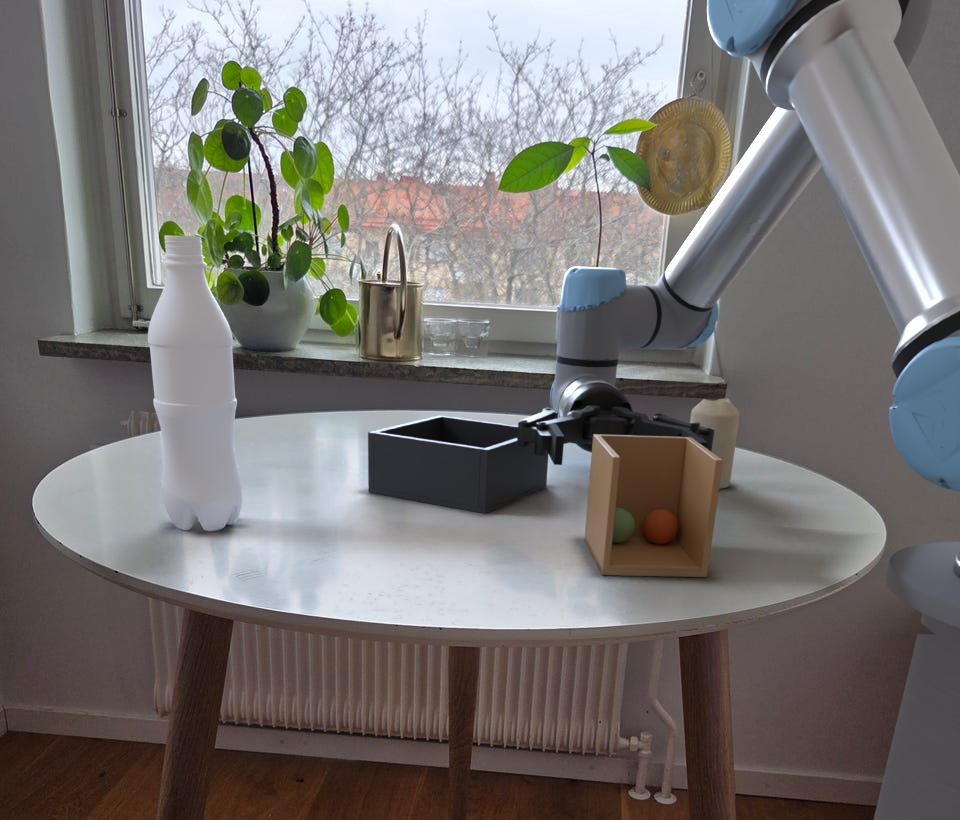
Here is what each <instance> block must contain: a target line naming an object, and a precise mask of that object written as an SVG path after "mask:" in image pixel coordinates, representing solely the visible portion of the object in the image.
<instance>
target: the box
mask: <svg viewBox="0 0 960 820" xmlns="http://www.w3.org/2000/svg"><path fill="white" fill-rule="evenodd" d="M590 456H591V457H590V466H589V467H590V468H589V469H590V470H589V480H588V491H587V504H586V514H585V515H586V517H585V527H584V538H583V539H584V541H583V542H584V543H585V545H586V547H587V549H588V551H589V553H590V554H591V556H592V558H593V560H594V562H595V564H596V566H597V568H598V570H599V571H600V573H601V575H602V576H623V577H625V576H626V577H627V576H630V577H632V576H633V577H634V576H635V577H670V578H671V577H675V578H677V577H678V578H679V577H680V578H708V572H709V565H710V556H711V551H712V550H711V549H712V543H713V535H714V528H715V522H716V515H717V514H716V513H717V507H718V501H719V500H718V499H719V494H720V493H719V492H720V488H719V486H720V479H721V472H722V465H723V460H722V459H720V458H719V457H718V456H716V455H715V454H714V453H712V452H711V451H710V450H708V449H707V448H705V447H704V446H703V445H701V444H700V443H699V442H697V441H696V440H694V439H693V438H692V437H668V436H635V435H602V434H601V435H599V434H594V435H593V444H592V452H591V455H590ZM615 508H622V509H625V510H626V511H628V512H629V513H630V514H631V515H632V517H633V519H634V522H635V529H634V532H633V534H632V536H631V537H630V538H629V539H628V540H626V541H625V542H622V543H612V538H613V528H614V518H615ZM657 509H665V510H668V511H670V512H671V513H673V514H674V516H675V517H676V519H677V521H678V531H677V534H676V536H675V537H674V538H673V539H672V540H671V541H670V542H668V543H665V544H655V543H652V542H651V541H649V540H648V539H647V538H646V537H645V535H644V532H643V522H644V519H645V518H646V516H647V515H648V514H649V513H650V512H652V511H654V510H657Z"/></svg>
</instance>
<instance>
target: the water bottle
mask: <svg viewBox="0 0 960 820" xmlns="http://www.w3.org/2000/svg"><path fill="white" fill-rule="evenodd" d="M163 239H164V249H165V254H164V255H163V257H164V258H165V260H163V263H162V266H165V267H166V269H165V271H166V275H165V282H164V286H163V289H162V292H161V294H160V296H159V299H158V301H157V303H156V305H155V308H154V309H153V313H152V315H151V318H150V321H149V325H148V331H147V343H148V345H149V352H150V362H151V375H152V385H153V395H154V398H153V400H152V402H153V408H154V410H155V413H156V416H157V421H158V423H159V427H160V431H161V439H162V449H163V451H162V452H163V464H162V474H161V482H160V487H161V497H162V502H163V505H164V508H165V511H166V514H167V515H168V517H169V519H170V520H171V522H172V523H173V525H174V526H175V527H176V528H177V529H180V530H182V531H189V530H191V529H192V528H193V526H194V525H195V524H196V522H197V521H198V522H199V523H200V525H201V527H202V529H203V530H204V531H205V532H216V531H220V530H223V529H224V528H225V527H226V525H227V526H232V525H234V524H236V523H237V521H238V519H239V517H240V514H241V510H242V506H243V480H242V476H241V473H240V469H239V467H238V466H239V465H238V462H237V456H236V451H235V450H236V449H235V448H236V447H235V418H236V412H237V411H236V410H237V406H238V405H237V404H238V400H237V398H236V389H235V387H236V385H235V371H234V369H235V368H234V354H233V345H234V339H233V333H232V329H231V326H230V324H229V322H228V320H227V318H226V316H225V314H224V312H223V310H222V308H221V307H220V305H219V303H218V301H217V300H216V298H215V296H214V295H213V293H212V290H211V289H210V286H209V283H208V281H207V277H206V273H205V272H206V271H205V268H208V264H207V263H206V262H205V261H204V259H205V258H206V257H205V255H203V245H202V243H203V241H202V236H192V235H191V236H190V235H170V234H169V235H168V234H164V238H163Z"/></svg>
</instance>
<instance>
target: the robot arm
mask: <svg viewBox="0 0 960 820" xmlns="http://www.w3.org/2000/svg"><path fill="white" fill-rule="evenodd" d="M932 6H933V0H707V1H706V15H707V17H706V18H707V24H708V28H709V32H710V35H711V38H712V39H713V41H714V43H715V44H716V45H717V46H718V47H719V48H720V49H721V50H723V51H725V52H727V53H728V54H729V55H730V56H732V57H735V58H743V57H746V58H747V59H748V60H749V61H750V62H751V63H752V65H753V67H754V70H755V72H756V74H757V76H758V78H759V80H760V83H761V85H762V87H763V89H764V92H765V93H766V95H767V98H768V99H769V101H770V102H771V104H772V105H773V106H775V110H774V111H773V113H772V114H771V115H770V117H769V118H768V120H766V122H765V124H764V126H763V127H762V128H761V130H760V131H759V133H758V135H757V136H756V137H755V139H754V140H753V141H752V143H751V145H750V146H749V148H748V149H747V150H746V151H745V153H744V155H743V156H742V157H741V159H740V161H739V162H738V163H737V165H736V166H735V168H734V169H733V171H732V172H731V174H730V175H729V176H728V178H727V179H726V181H725V183H724V184H723V186H722V187H721V188H720V190H719V191H718V193H717V194H716V196H715V197H714V199H713V200H712V201H711V203H710V204H709V205H708V207H707V209H706V210H705V211H704V213H703V215H702V216H701V218H700V219H699V221H698V222H697V224H696V225H695V227H694V228H693V230H692V231H691V232H690V234H689V235H688V237H687V238H686V239H685V241H684V242H683V244H682V245H681V247H680V248H679V250H678V251H677V253H676V254H675V255H674V257H673V259H672V260H671V262H670V263H668V266H667V267H666V269H665V270H664V271H663V272H662V274H661V276H660V277H659V279H658V280H657V281H656V283H655V284H653V285H641V284H628V283H627V274H626V272H625V271H624V269H622V268H614V267H602V266H601V267H597V266H595V267H594V266H572V267H570V268H568V269H567V270H566V272H565V273H564V275H563V281H562V287H561V294H560V301H559V304H558V305H559V325H558V326H559V327H558V349H557V356H556V361H555V374H554V380H553V381H552V384H551V388H550V394H549V402H550V407H545V408H543V409H542V411H541V412H538V413H536V414H533V415H530V416H528V417H525V418H522V419H520V420H518V423H517V426H518V436H517V445H518V446H520V447H525V446H529V445H531V444H533V443H535V455H538V456H545V450H547V452H548V457H549V458H550V460H551V461H552V463H553V465H555V466H563V458H564V457H563V456H564V446H565V444H575V445H577V447H578V448H581V449H582V450H583V451H585V452H588V453H592V444H593V435H594V434H599V435H601V434H602V435H635V436H668V437H692V438H693V439H694V440H696V441H697V442H699V443H700V444H701V445H703V446H704V447H705V448H707V449H708V450H710V451H711V452H712V445H713V439H714V432H715V430H713V429H711V428H706V427H702V426H700V423H699V422H697V423H690V422H688V421H683V420H679V419H676V418H672V417H670V416H668V415H665V414H663V413H661V412H658V413H654V414H653V416H652V419H649V416H648V415H647V414H646V413H641V412H637V411H634V410H633V406H632V404H631V402H630V400H629V399H628V397H627V396H626V395H625V394H624V393H623V392H622V391H620V390H619V388H617V387H616V382H617V381H616V380H617V370H618V369H617V368H618V364H619V356H620V355H619V354H620V350H631V349H632V350H633V349H672V350H674V349H675V350H677V349H678V350H681V349H684V348H688V347H689V348H690V347H697V346H700V345H702V344H704V343H705V342H707V341H708V339H710V338H711V337H712V335H713V334H714V332H715V330H716V328H715V327H716V323H717V321H718V320H719V304H718V301H720V299H721V298H722V296H723V295H724V293H725V292H726V291H727V290H728V289H729V287H730V286H731V285H732V283H733V282H734V281H735V279H736V278H737V277H738V276H739V274H740V273H741V271H742V270H743V269H744V268H745V266H746V265H747V263H748V262H749V261H750V260H751V258H752V257H753V256H754V255H755V253H756V252H757V251H758V250H759V248H760V247H761V245H762V244H763V243H764V241H765V240H766V239H767V238H768V237H769V235H770V234H771V232H773V230H774V229H775V228H776V226H777V225H778V224H779V222H780V221H781V220H782V218H783V217H784V216H785V214H786V213H787V212H788V211H789V210H790V208H791V207H792V205H794V203H795V202H796V200H798V198H799V196H800V195H801V194H802V193H803V191H804V190H805V189H806V188H807V186H808V185H809V183H810V182H811V181H812V180H813V178H814V177H815V176H816V175H817V173H818V172H819V170H820V169H821V168H822V169H823V172H824V174H825V176H826V178H827V181H828V183H829V185H830V187H831V189H832V192H833V194H834V196H835V198H836V200H837V202H838V204H839V207H840V209H841V210H842V211H841V212H842V213H843V215H844V217H845V219H846V222H847V224H848V226H849V228H850V230H851V232H852V235H853V237H854V239H855V242H856V243H857V246H858V248H859V250H860V252H861V254H862V256H863V258H864V261H865V263H866V265H867V268H868V269H869V271H870V274H871V276H872V278H873V280H874V283H875V285H876V287H877V289H878V291H879V293H880V296H881V297H882V300H883V302H884V304H885V306H886V308H887V311H888V313H889V315H890V317H891V320H892V321H893V324H894V326H895V328H896V330H897V333H898V334H899V341H898V344H897V346H896V348H895V351H894V353H893V355H892V357H891V360H890V365H891V369H892V371H893V374H894V376H895V378H896V382H895V384H894V387H893V390H892V396H893V397H894V400H893V403H892V405H890V406H889V410H888V418H889V419H888V420H889V421H888V422H889V427H890V432H891V436H892V439H893V442H894V444H895V447H896V449H897V450H898V453H899V454H900V456H901V458H902V459H903V460H904V461H905V463H906V464H907V465H908V466H909V467H910V469H912V471H914V472H915V473H916V474H917V475H919V476H920V478H923V480H926V481H927V482H929V483H931V484H932V485H935V486H938V487H940V488H943V489H946V490H949V491H950V490H951V491H955V492H960V174H959V172H958V169H957V167H956V165H955V164H954V162H953V159H952V157H951V155H950V153H949V151H948V148H947V147H946V145H945V143H944V141H943V139H942V137H941V134H940V133H939V130H938V129H937V127H936V124H935V123H934V121H933V118H932V117H931V114H930V113H929V111H928V108H927V106H926V105H925V103H924V101H923V98H922V97H921V94H920V92H919V91H918V88H917V87H916V84H915V82H914V80H913V79H912V78H913V77H911V75H910V73H909V72H910V71H909V70H908V68H909V67H910V65H911V63H912V61H913V59H914V58H915V56H916V54H917V52H918V50H919V48H920V45H921V42H922V40H923V38H924V35H925V34H926V33H925V32H926V30H927V28H928V25H929V22H930V17H931V14H932ZM953 571H954V573H955V575H956V576H957V577H959V578H960V548H959V550H958V553H957V554H956V558H955V562H954V566H953Z"/></svg>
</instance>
